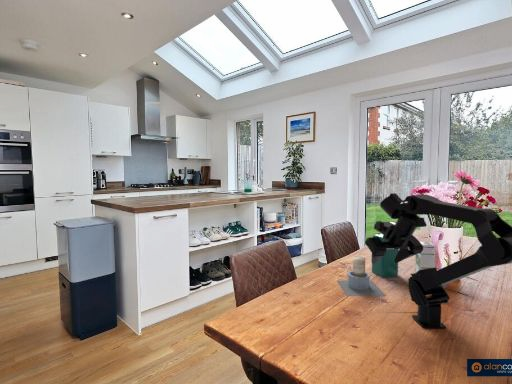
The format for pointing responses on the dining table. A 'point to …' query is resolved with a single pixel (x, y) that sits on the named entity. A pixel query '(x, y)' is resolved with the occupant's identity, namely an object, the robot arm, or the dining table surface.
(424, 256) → the syrup box
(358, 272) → the stopper
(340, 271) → the dining table surface
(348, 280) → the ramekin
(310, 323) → the dining table surface
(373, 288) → the mat
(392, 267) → the green bottle
